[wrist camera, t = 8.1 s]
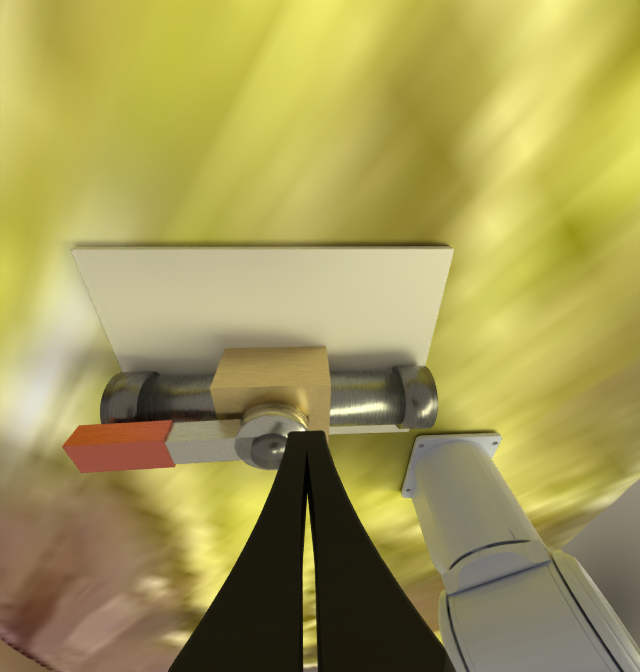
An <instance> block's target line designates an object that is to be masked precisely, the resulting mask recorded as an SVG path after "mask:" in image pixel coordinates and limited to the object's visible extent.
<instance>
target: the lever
mask: <svg viewBox="0 0 640 672" xmlns="http://www.w3.org/2000/svg"><path fill="white" fill-rule="evenodd" d="M290 431H309V422H308V420H307V418H306V416H305V415H304V414H303V413H302V412H301V411H299V410H298V409H296V408H294V407H292V406H290V405H286V404H281V403H265V404H260V405H257V406H255V407H253V408H251V409H249V410H248V411H246V412H245V413H244V414H243V416H242V417H241V419H234V420H217V421H200V422H183V423H173V420H166V421H149V422H131V423H114V424H97V425H80V426H78V427H77V429H76V430H75V431H74V432H73V434H72V435H71V436H70V437H69V439H68V440H67V441H66V442H65V443H64V445H63V446H62V447H63V449H64V450H65V452H66V453H67V454H68V456H69V457H70V458H71V460H72V461H73V462H74V464H75V465H76V466H77V468H78V469H79V470H80V472H81V473H88V472H104V471H120V470H136V469H152V468H168V467H175V465H176V464H186V463H202V462H218V461H234V460H242V461H244V462H245V463H247V464H249V465H250V466H253V467H256V468H259V469H264V470H278V469H279V466H280V463H281V460H282V457H283V453H284V450H285V445H286V441H287V434H288V433H289V432H290Z"/></svg>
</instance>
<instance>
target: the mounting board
mask: <svg viewBox="0 0 640 672" xmlns="http://www.w3.org/2000/svg"><path fill="white" fill-rule="evenodd" d="M70 251H71V253H72V255H73V258H74V260H75V262H76V265H77V267H78V269H79V272H80V274H81V276H82V279H83V281H84V283H85V286H86V288H87V290H88V293H89V295H90V298H91V300H92V302H93V305H94V307H95V309H96V312H97V314H98V316H99V319H100V321H101V323H102V326H103V328H104V330H105V333H106V335H107V337H108V340H109V342H110V344H111V347H112V349H113V351H114V354H115V356H116V358H117V361H118V363H119V365H120V368H121V370H122V372H149V371H154V372H158V373H159V374H160V376H165V375H209V374H215V373H216V371H217V368H218V365H219V363H220V360H221V358H222V355H223V352H224V350H225V348H257V347H311V346H326V349H327V357H328V365H329V372H339V371H382V370H392V368H393V367H394V366H418V365H423V366H425V365H426V361H427V357H428V353H429V348H430V344H431V340H432V336H433V332H434V328H435V324H436V320H437V316H438V312H439V308H440V304H441V300H442V296H443V292H444V288H445V284H446V280H447V276H448V272H449V268H450V264H451V260H452V256H453V252H454V249H453V248H452V247H450V246H301V247H75V248H73V249H71V250H70ZM386 432H409V429H398V428H397V427H396V425H372V426H342V427H329V434H356V433H386Z"/></svg>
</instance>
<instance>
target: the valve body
mask: <svg viewBox="0 0 640 672" xmlns="http://www.w3.org/2000/svg"><path fill="white" fill-rule="evenodd" d="M265 403H281V404H286V405H290V406H292V407H294V408H296V409H298V410H299V411H301V412H302V413H303V414H304V415H305V416H306V418H307V420H308V422H309V431H317V430H323V431H324V432H325V435H326V440H327V444H328V446H329V427H342V426H372V425H396V427H397V428H398V429H419V428H431V427H432V426H433V425H434V423H435V421H436V417H437V411H438V397H437V390H436V385H435V381H434V378H433V376H432V374H431V372H430V370H429V369H428V368H427V367H426V366H423V365H418V366H394V367H393V368H392V370H382V371H339V372H329V365H328V357H327V349H326V346H311V347H257V348H225V350H224V352H223V355H222V358H221V360H220V363H219V365H218V368H217V371H216V373H215V374H209V375H165V376H160V374H159V373H158V372H154V371H149V372H121V373H118V374H116V375H115V376H114V377H113V378H112V379H111V380H110V381H109V383H108V384H107V386H106V388H105V390H104V393H103V396H102V399H101V405H100V419H101V424H114V423H131V422H149V421H166V420H173V423H183V422H200V421H217V420H234V419H241V417H242V416H243V414H244V413H245V412H246V411H248V410H249V409H251V408H253V407H255V406H257V405H260V404H265Z"/></svg>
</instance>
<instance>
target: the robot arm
mask: <svg viewBox="0 0 640 672" xmlns="http://www.w3.org/2000/svg"><path fill="white" fill-rule="evenodd" d="M501 440H502V437H501V435H500V434H499V433H480V434H451V435H422V436H418V437H417V438H416V440H415V443H414V447H413V451H412V454H411V458H410V462H409V465H408V469H407V473H406V476H405V480H404V484H403V487H402V491H401V495H402V497H403V498H412V502H413V505H414V508H415V511H416V514H417V517H418V520H419V524H420V527H421V530H422V533H423V536H424V539H425V543H426V546H427V549H428V552H429V555H430V557H431V560H432V562H433V564H434V565H435V567H436V569H437V570H438V571H439V572H440V574H441V576H442V579H443V582H444V585H445V588H446V589H445V590H443V591H442V592H441V594H440V598H439V607H438V621H439V628H440V632H441V637H442V641H443V644H444V646H443V645H442V644H441V642H440V641H439V640H438V638H437V637H436V636H435V634H434V633H433V632H432V630H431V629H430V628H429V626H428V625H427V624H426V622H425V621H424V620H423V618H422V617H421V616H420V614H419V613H418V611H417V610H416V609H415V607H414V606H413V604H412V603H411V601H410V600H409V599H408V597H407V596H406V594H405V593H404V591H403V590H402V589H401V587H400V586H399V584H398V582H397V581H396V579H395V578H394V576H393V575H392V573H391V572H390V570H389V569H388V567H387V566H386V564H385V562H384V561H383V559H382V558H381V556H380V555H379V553H378V551H377V550H376V548H375V546H374V544H373V543H372V541H371V539H370V538H369V536H368V534H367V532H366V531H365V529H364V527H363V525H362V523H361V522H360V520H359V518H358V516H357V514H356V512H355V510H354V508H353V506H352V504H351V502H350V500H349V498H348V496H347V493H346V491H345V489H344V487H343V484H342V482H341V480H340V477H339V475H338V473H337V470H336V468H335V465H334V462H333V459H332V457H331V454H330V450H329V447H328V444H327V440H326V435H325V432H324V431H323V430H317V431H290V432H289V433H288V434H287V441H286V445H285V450H284V453H283V457H282V460H281V463H280V466H279V469H278V472H277V475H276V477H275V480H274V483H273V486H272V488H271V491H270V493H269V495H268V498H267V500H266V503H265V505H264V507H263V510H262V512H261V514H260V516H259V518H258V521H257V523H256V525H255V527H254V529H253V531H252V533H251V535H250V537H249V539H248V541H247V543H246V545H245V547H244V549H243V550H242V552H241V554H240V556H239V558H238V560H237V561H236V563H235V565H234V567H233V569H232V570H231V572H230V574H229V576H228V577H227V579H226V581H225V583H224V584H223V586H222V588H221V589H220V591H219V592H218V594H217V596H216V597H215V599H214V601H213V602H212V604H211V606H210V607H209V609H208V610H207V612H206V614H205V615H204V617H203V618H202V620H201V622H200V623H199V625H198V626H197V628H196V629H195V631H194V632H193V634H192V635H191V637H190V638H189V640H188V641H187V643H186V644H185V646H184V647H183V649H182V650H181V652H180V653H179V655H178V656H177V658H176V659H175V661H174V662H173V664H172V665H171V667H170V668H169V670H168V672H303V551H304V536H305V521H306V506H307V493H308V503H309V513H310V523H311V532H312V542H313V552H314V564H315V588H316V623H317V659H318V672H640V649H639V648H638V646H637V645H636V643H635V642H634V640H633V639H632V637H631V635H630V634H629V633H628V631H627V630H626V628H625V627H624V625H623V624H622V622H621V621H620V619H619V618H618V616H617V615H616V613H615V612H614V611H613V609H612V607H611V606H610V605H609V603H608V602H607V600H606V599H605V598H604V596H603V595H602V593H601V592H600V590H599V589H598V588H597V586H596V585H595V583H594V582H593V580H592V579H591V578H590V576H589V575H588V574H587V572H586V571H585V570H584V568H583V567H582V566H581V564H580V563H579V562H578V561H577V560H576V559H575V558H574V557H572V556H570V555H568V554H565V553H564V552H563V551H561V550H557V551H555V552H553V553H552V552H551V551H550V550H549V549H548V548H547V547H546V546H545V544H544V543H543V541H542V540H541V538H540V536H539V535H538V533H537V531H536V530H535V528H534V527H533V525H532V523H531V522H530V520H529V519H528V517H527V515H526V514H525V512H524V510H523V509H522V507H521V506H520V504H519V502H518V501H517V499H516V497H515V496H514V494H513V493H512V491H511V489H510V488H509V486H508V485H507V483H506V481H505V480H504V478H503V476H502V475H501V473H500V472H499V470H498V468H497V467H496V465H495V464H494V462H493V460H492V458H493V456H494V454H495V452H496V450H497V448H498V446H499V444H500V442H501ZM444 647H445V648H444Z"/></svg>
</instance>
